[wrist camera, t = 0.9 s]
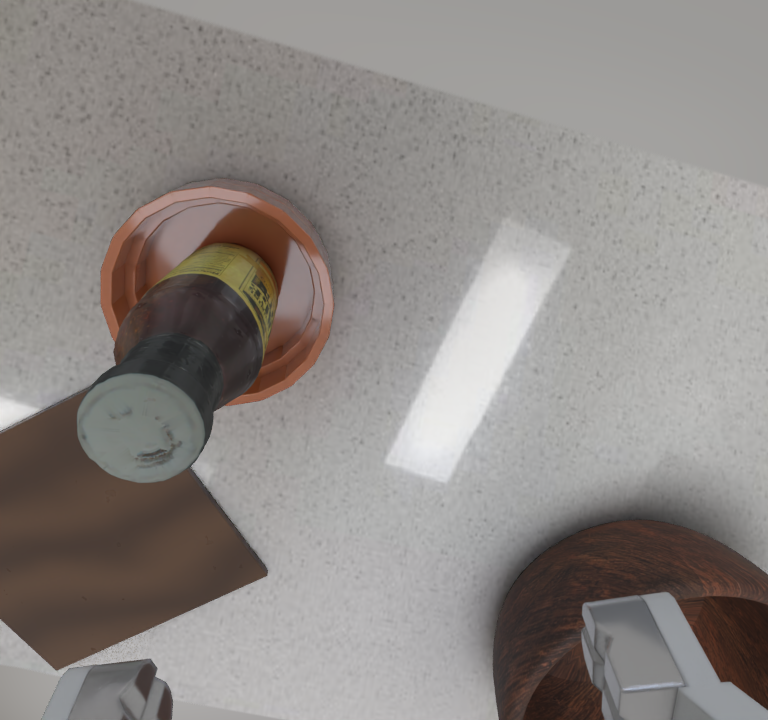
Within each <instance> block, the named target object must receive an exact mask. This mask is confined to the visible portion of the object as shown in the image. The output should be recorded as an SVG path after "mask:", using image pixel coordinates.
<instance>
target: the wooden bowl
mask: <svg viewBox="0 0 768 720" xmlns="http://www.w3.org/2000/svg"><path fill="white" fill-rule="evenodd" d="M661 592H668V593H670V594H671V595H672V596H673V597H674V598H675V600H676V602H677V604H678V605H679V607H680V609H681V611H682V613H683V615H684V616H685V618H686V620H687V622H688V624H689V625H690V627H691V629H692V631H693V633H694V634H695V636H696V638H697V640H698V642H699V644H700V645H701V647H702V649H703V651H704V653H705V654H706V656H707V658H708V660H709V662H710V663H711V665H712V667H713V669H714V671H715V673H716V674H717V676H718V678H719V680H720V682H731V683H732V684H734V685H735V686H736V687H738V688H739V689H740V690H741V691H743V692H744V693H745V694H747V695H748V696H749V697H751V698H752V699H753V700H755V701H756V702H757V703H759V704H760V705H761V706H763V707H764V708H765V709H767V710H768V574H766V573H765V572H764V571H762V570H761V569H760V568H759V567H757V566H756V565H754V564H753V563H752V562H750V561H749V560H747V559H746V558H744V557H743V556H741V555H740V554H738V553H737V552H735V551H734V550H732V549H731V548H729V547H728V546H726V545H724V544H722V543H720V542H718V541H716V540H714V539H712V538H710V537H708V536H706V535H704V534H702V533H699V532H696V531H693V530H691V529H688V528H685V527H682V526H678V525H674V524H670V523H665V522H659V521H652V520H625V521H616V522H611V523H606V524H602V525H599V526H595V527H592V528H589V529H586V530H583V531H581V532H578V533H576V534H574V535H571V536H569V537H568V538H566V539H564V540H562V541H560V542H559V543H557V544H555V545H554V546H552V547H551V548H549V549H548V550H547V551H545V552H544V553H543V554H541V555H540V556H539V557H538V558H536V559H535V560H534V561H533V562H532V563H531V564H530V565H529V566H528V567H527V568H526V569H525V570H524V571H523V572H522V574H521V575H520V576H519V577H518V579H517V580H516V582H515V583H514V584H513V586H512V587H511V589H510V591H509V593H508V595H507V597H506V599H505V602H504V604H503V607H502V609H501V612H500V615H499V619H498V622H497V627H496V632H495V638H494V648H493V677H494V686H495V695H496V703H497V709H498V716H499V720H605V718H604V715H603V713H602V694H603V693H602V692H601V691H600V690H599V689H597V688H596V687H595V686H594V685H593V684H592V681H591V678H590V675H589V672H588V669H587V665H586V662H585V658H584V653H583V647H582V633H581V630H582V629H583V628H584V627H585V626H586V625H585V622H584V619H583V616H582V606H583V604H584V603H586V602H593V601H600V600H607V599H614V598H620V597H627V596H634V595H638V596H640V595H647V594H654V593H661Z"/></svg>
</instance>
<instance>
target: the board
mask: <svg viewBox="0 0 768 720" xmlns="http://www.w3.org/2000/svg"><path fill="white" fill-rule="evenodd" d="M90 388H91V387H89V388H87V389H85V390H83V391H81V392H79V393H77V394H75V395H73V396H71V397H69V398H67V399H65V400H63V401H61V402H59V403H57V404H55V405H53V406H51V407H49V408H47V409H45V410H43V411H41V412H39V413H37V414H35V415H33V416H31V417H29V418H27V419H25V420H23V421H21V422H19V423H17V424H15V425H13V426H11V427H9V428H7V429H5V430H3V431H1V432H0V619H1V620H2V621H3V622H4V623H5V624H6V625H7V626H8V627H10V628H11V629H12V630H13V631H14V632H15V633H16V634H17V635H18V636H19V637H20V638H22V639H23V640H24V641H25V642H26V643H27V644H28V645H29V646H30V647H31V648H32V649H33V650H35V651H36V652H37V653H38V654H39V655H40V656H41V657H42V658H43V659H44V660H45V661H46V662H48V663H49V664H50V665H51V666H52V667H53V668H54V669H55V670H59V669H61V668H64V667H66V666H68V665H70V664H73V663H75V662H77V661H79V660H81V659H84V658H86V657H88V656H90V655H92V654H95V653H97V652H99V651H101V650H104V649H106V648H108V647H110V646H112V645H115V644H117V643H119V642H121V641H124V640H126V639H128V638H130V637H132V636H135V635H137V634H139V633H141V632H143V631H146V630H148V629H150V628H152V627H155V626H157V625H159V624H161V623H163V622H166V621H168V620H170V619H172V618H174V617H177V616H179V615H181V614H183V613H186V612H188V611H190V610H192V609H194V608H197V607H199V606H201V605H203V604H206V603H208V602H210V601H212V600H214V599H217V598H219V597H221V596H223V595H225V594H228V593H230V592H232V591H234V590H237V589H239V588H241V587H243V586H245V585H248V584H250V583H252V582H254V581H257V580H259V579H261V578H263V577H265V576H267V574H268V570H267V569H266V568H265V566H264V565H263V564H262V562H261V561H260V560H259V558H258V557H257V556H256V554H255V553H254V552H253V550H252V549H251V548H250V546H249V545H248V544H247V542H246V541H245V540H244V538H243V537H242V536H241V534H240V533H239V532H238V530H237V529H236V528H235V527H234V525H233V524H232V523H231V521H230V520H229V519H228V517H227V516H226V515H225V513H224V512H223V511H222V509H221V508H220V507H219V505H218V504H217V503H216V501H215V500H214V499H213V497H212V496H211V495H210V493H209V492H208V491H207V490H206V488H205V487H204V486H203V484H202V483H201V482H200V480H199V479H198V478H197V476H196V475H195V474H194V472H193V471H192V470H191V468H190V467H189V468H188V469H186V470H184V471H183V472H181V473H180V474H178V475H176V476H173V477H172V478H170V479H168V480H165V481H159V482H155V483H137V482H133V481H128V480H124V479H121V478H118V477H115V476H113V475H110V474H109V473H107V472H106V471H105V470H103V469H102V468H101V467H99V465H98V464H97V463H96V462H95V461H93V460H92V459H90V458H89V457H88V455H87V454H86V452H85V451H84V449H83V448H82V446H81V444H80V441H79V439H78V434H77V411H78V408H79V405H80V403H81V401H82V399H83V398H84V396H85V394H86V393H87V391H88V390H89V389H90Z"/></svg>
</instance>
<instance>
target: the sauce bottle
mask: <svg viewBox="0 0 768 720" xmlns="http://www.w3.org/2000/svg"><path fill="white" fill-rule="evenodd" d="M277 304H278V287H277V282H276V279H275V277H274V275H273V271H272V269H271V267H270V265H269V264H268V263H266V262H265V261H264V259H262V258H261V257H260V256H259V255H258V254H257V253H256V252H254V251H252V250H251V249H249V248H247V247H246V246H244V245H241V244H239V243H213V244H210V245H207V246H204V247H202V248H200V249H198V250H196V251H195V252H193V253H192V254H191V255H190V256H188V257H187V258H186V259H185V260H184V261H182V262H181V263H180V264H179V265H178V266H177V267H175V268H174V269H173V270H172V271H171V272H169V273H168V274H167V275H166V276H165V277H163V278H162V279H161V280H160V281H159V282H158V283H156V284H155V285H154V286H153V287H152V288H150V289H149V290H148V291H147V292H146V293H145V295H144V296H143V297H142V298H141V300H140V301H139V302H138V303H137V304H136V305H135V306H134V307H132V309H131V310H130V311H129V313H128V314H127V316H126V317H125V319H124V320H123V322H122V324H121V326H120V328H119V331H118V334H117V338H116V341H115V348H114V356H115V362H116V366H114V367H112V368H111V369H109V370H108V371H106V372H105V373H103V374H102V375H101V376H100V377H99V378H98V379H97V381H96V382H95V383H94V384H93V385H92V386H91V388H90V389H89V390H88V391H87V393H86V394H85V396H84V398H83V399H82V401H81V403H80V405H79V408H78V411H77V434H78V439H79V441H80V444H81V446H82V448H83V449H84V451H85V452H86V454H87V455H88V457H89V458H90V459H92V460H93V461H95V462H96V463H97V464H98V465H99V467H101V468H102V469H103V470H105V471H106V472H107V473H109V474H110V475H113V476H115V477H118V478H121V479H124V480H128V481H133V482H137V483H155V482H159V481H165V480H168V479H170V478H172V477H173V476H176V475H178V474H180V473H181V472H183V471H184V470H186V469H188V468H189V467H191V466H192V464H193V463H194V462H195V461H196V460H197V458H198V456H199V455H200V453H201V452H202V450H203V449H204V446H205V445H206V443H207V441H208V439H209V437H210V434H211V430H212V425H213V412H214V411H216V410H217V409H219V408H221V407H222V406H224V405H226V404H227V403H229V402H231V401H232V400H234V399H236V398H237V397H239V396H241V395H242V394H243V393H245V392H246V391H247V390H248V389H249V388H250V387H251V386H252V384H253V383H254V382H255V380H256V378H257V377H258V374H259V372H260V369H261V366H262V363H263V359H264V355H265V351H266V347H267V344H268V341H269V336H270V333H271V328H272V324H273V320H274V317H275V312H276V308H277Z"/></svg>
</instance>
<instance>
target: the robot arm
mask: <svg viewBox="0 0 768 720" xmlns="http://www.w3.org/2000/svg"><path fill="white" fill-rule="evenodd" d="M582 616H583V619H584V622H585V625H586V626H585V627H584V628H583V629H582V630H581V633H582V647H583V653H584V658H585V662H586V665H587V669H588V672H589V675H590V678H591V681H592V684H593V685H594V686H595V687H596V688H597V689H599V690H600V691H601V692H602V693H603V694H602V713H603V715H604V718H605V720H768V710H767V709H765V708H764V707H763V706H761V705H760V704H759V703H757V702H756V701H755V700H753V699H752V698H751V697H749V696H748V695H747V694H745V693H744V692H743V691H741V690H740V689H739V688H738V687H736V686H735V685H734V684H732V683H731V682H720V680H719V678H718V676H717V674H716V673H715V671H714V669H713V667H712V665H711V663H710V662H709V660H708V658H707V656H706V654H705V653H704V651H703V649H702V647H701V645H700V644H699V642H698V640H697V638H696V636H695V634H694V633H693V631H692V629H691V627H690V625H689V624H688V622H687V620H686V618H685V616H684V615H683V613H682V611H681V609H680V607H679V605H678V604H677V602H676V600H675V598H674V597H673V596H672V595H671V594H670V593H668V592H661V593H654V594H647V595H640V596H638V595H634V596H627V597H620V598H614V599H607V600H600V601H593V602H586V603H584V604H583V606H582ZM156 672H157V667H156V666H155V664H154V663H153V662H152V660H151V659H144V660H136V661H127V662H119V663H111V664H102V665H91V666H83V667H76V668H69V669H68V670H67V671H66V672H65V674H64V675H63V676H62V677H61V678H60V680H59V682H58V684H57V687H56V689H55V691H54V693H53V695H52V697H51V699H50V701H49V704H48V706H47V708H46V710H45V712H44V714H43V717H42V718H41V720H172V708H173V699H172V695H171V690H170V688H169V686H168V685H167V683H166V682H165V681H163V680H161V679H159V678H157V677H155V675H156Z"/></svg>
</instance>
